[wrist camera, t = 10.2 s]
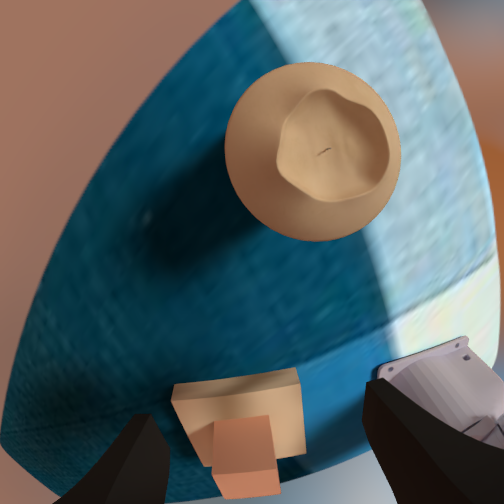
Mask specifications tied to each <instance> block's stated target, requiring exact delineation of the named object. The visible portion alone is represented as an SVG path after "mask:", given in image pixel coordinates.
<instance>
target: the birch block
mask: <svg viewBox="0 0 504 504" xmlns="http://www.w3.org/2000/svg"><path fill="white" fill-rule="evenodd" d="M171 402H172V404H173V407H174V409H175V411H176V413H177V415H178V417H179V419H180V421H181V423H182V425H183V427H184V429H185V431H186V433H187V435H188V437H189V439H190V441H191V443H192V445H193V447H194V449H195V451H196V453H197V455H198V456H199V458H200V460H201V462H202V464H203V465H204V467H205V466H212V458H213V435H214V421H219V420H230V419H239V418H248V417H255V416H263V415H269V419H270V425H271V431H272V436H273V442H274V448H275V455H276V459H279V458H285V457H290V456H296V455H301V454H306V443H305V431H304V419H303V408H302V397H301V386H300V381H299V378H298V374H297V371H296V368H295V367H294V368H289V369H283V370H278V371H272V372H267V373H261V374H254V375H248V376H241V377H234V378H227V379H219V380H211V381H202V382H192V383H181V384H174V389H173V393H172V398H171Z"/></svg>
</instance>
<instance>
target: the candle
mask: <svg viewBox="0 0 504 504" xmlns="http://www.w3.org/2000/svg"><path fill="white" fill-rule="evenodd" d="M225 160H226V165H227V170H228V174H229V177H230V180H231V183H232V185H233V187H234V189H235V191H236V193H237V195H238V196H239V198H240V199H241V201H242V202H243V204H244V205H245V206H246V208H247V209H248V210H249V211H250V212H251V213H252V214H253V215H254V216H255V217H256V218H257V219H258V220H259V221H261V222H262V223H263V224H265V225H266V226H268V227H269V228H271V229H272V230H274V231H276V232H278V233H280V234H282V235H285V236H288V237H291V238H294V239H299V240H304V241H329V240H334V239H339V238H342V237H345V236H348V235H350V234H352V233H354V232H356V231H358V230H360V229H361V228H363V227H364V226H366V225H367V224H369V223H370V222H371V221H372V220H373V219H374V218H375V217H376V216H377V215H378V214H379V213H380V212H381V211H382V210H383V208H384V207H385V205H386V204H387V202H388V201H389V199H390V197H391V195H392V193H393V191H394V189H395V186H396V183H397V180H398V176H399V171H400V164H401V146H400V139H399V134H398V131H397V127H396V124H395V122H394V119H393V117H392V115H391V113H390V111H389V109H388V107H387V106H386V104H385V103H384V101H383V100H382V99H381V97H380V96H379V95H378V94H377V93H376V92H375V91H374V89H373V88H372V87H370V86H369V85H368V84H367V83H366V82H364V81H363V80H362V79H360V78H359V77H357V76H356V75H354V74H352V73H350V72H348V71H346V70H344V69H342V68H339V67H336V66H333V65H328V64H323V63H314V62H304V63H295V64H290V65H285V66H283V67H280V68H277V69H274V70H273V71H271V72H269V73H267V74H265V75H263V76H262V77H261V78H259V79H258V80H257V81H255V82H254V83H253V84H252V85H251V86H250V87H249V88H248V89H247V90H246V91H245V92H244V94H243V95H242V96H241V98H240V99H239V100H238V102H237V104H236V106H235V108H234V109H233V111H232V114H231V117H230V119H229V122H228V126H227V131H226V136H225Z"/></svg>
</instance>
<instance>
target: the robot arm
mask: <svg viewBox="0 0 504 504" xmlns="http://www.w3.org/2000/svg"><path fill="white" fill-rule="evenodd" d="M468 341H469V338H468V337H467V336H463V337H460V338H458V339H455V340H453V341H450V342H448V343H445V344H442V345H440V346H437V347H434V348H431V349H429V350H426V351H423V352H420V353H417V354H414V355H411V356H408V357H405V358H402V359H399V360H396V361H393V362H389V363H386V364H383V365H381V366H380V367H379V369H378V373H377V379H376V380H373V381H369V382H366V390H365V399H364V408H363V415H362V423H363V426H364V429H365V432H366V435H367V438H368V441H369V443H370V446H371V448H372V450H373V452H374V454H375V456H376V458H377V460H378V462H379V464H380V466H381V468H382V470H383V472H384V474H385V476H386V478H387V480H388V482H389V485H390V486H391V489H392V491H393V493H394V496H395V498H396V501H397V504H504V382H503V381H502V379H501V378H500V377H499V376H498V375H497V374H496V373H495V372H494V371H493V370H492V369H491V368H490V367H489V366H488V365H487V364H486V363H485V362H484V361H483V360H482V359H481V358H479V357H478V356H477V355H476V354H475V353H474V352H473V351H472V350H471V349H470V348H469V347H468V346H467V345H468ZM390 367H391V368H390ZM389 368H390V369H389ZM169 467H170V448H169V446H168V444H167V442H166V441H165V439H164V437H163V435H162V434H161V432H160V430H159V428H158V426H157V424H156V423H155V421H154V419H153V417H152V415H151V414H135V415H134V416H133V417H132V419H131V420H130V421H129V422H128V424H127V425H126V426H125V428H124V429H123V430H122V431H121V433H120V434H119V435H118V437H117V438H116V439H115V441H114V442H113V443H112V444H111V446H110V447H109V448H108V449H107V451H106V452H105V453H104V454H103V456H102V457H101V458H100V459H99V460H98V462H97V463H96V464H95V465H94V466H93V467H92V468H91V469H90V471H89V472H88V473H87V474H86V475H85V476H84V477H83V478H82V479H81V480H80V481H79V482H78V483H77V484H76V485H75V486H74V487H73V488H72V489H70V490H69V491H68V492H67V493H66V494H65V495H63V496H62V497H61V498H60V499H58V500H57V501H56V502H54V503H53V504H164V502H165V496H166V490H167V484H168V478H169Z"/></svg>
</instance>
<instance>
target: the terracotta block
mask: <svg viewBox="0 0 504 504" xmlns="http://www.w3.org/2000/svg"><path fill="white" fill-rule="evenodd" d="M212 476H213V478H214V480H215V482H216V484H217V486H218V487H219V489H220V491H221V493H222V495H223V497H224V498H225V499H238V498H250V497H260V496H269V495H276V494H281V489H280V482H279V475H278V469H277V462H276V455H275V448H274V442H273V436H272V431H271V425H270V419H269V415H263V416H255V417H248V418H239V419H230V420H219V421H214V435H213V458H212Z"/></svg>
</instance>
